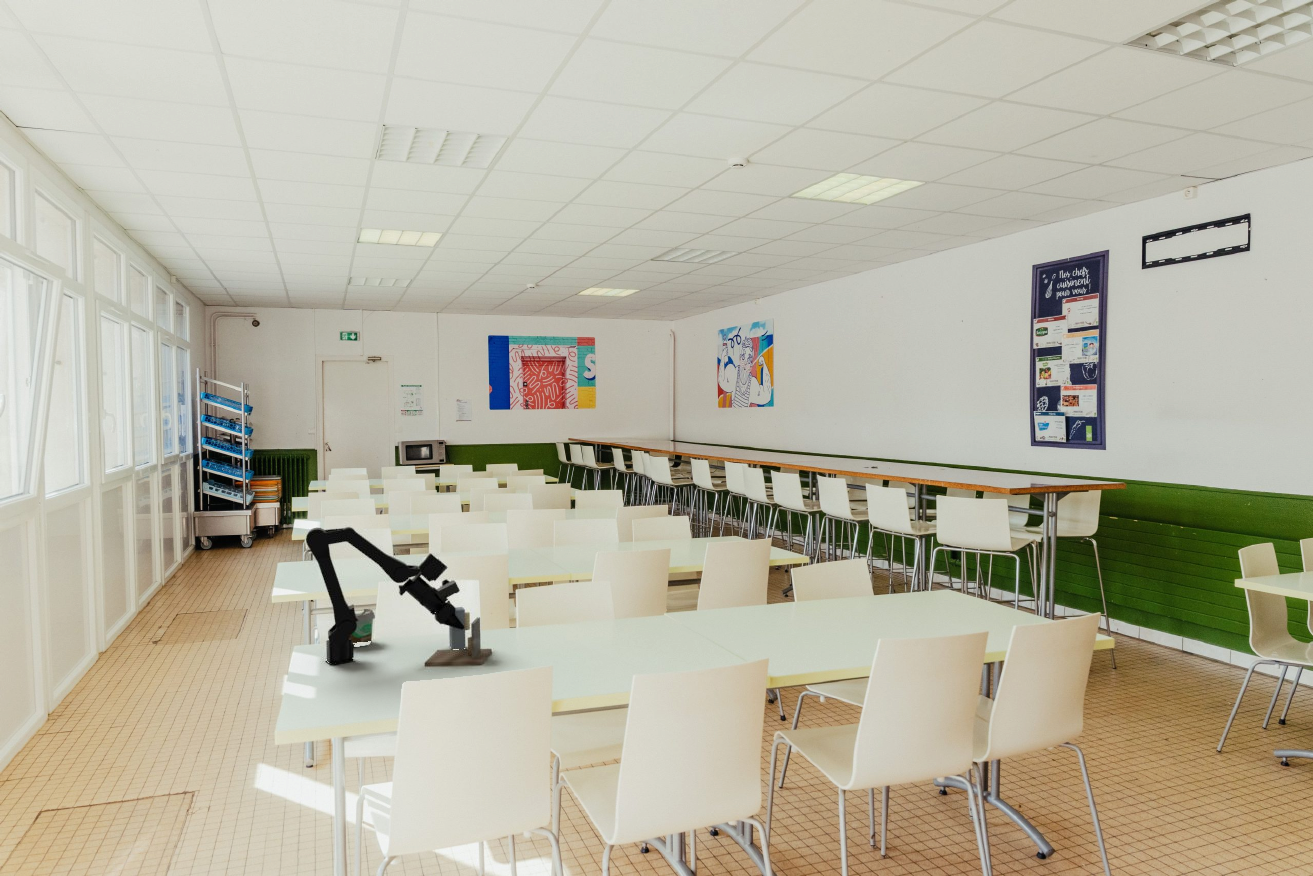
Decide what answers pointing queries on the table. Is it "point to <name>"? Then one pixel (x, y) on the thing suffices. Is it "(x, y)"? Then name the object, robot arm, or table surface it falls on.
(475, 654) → the hinge jig
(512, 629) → the table surface
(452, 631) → the loose hinge leaf
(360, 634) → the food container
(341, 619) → the robot arm
